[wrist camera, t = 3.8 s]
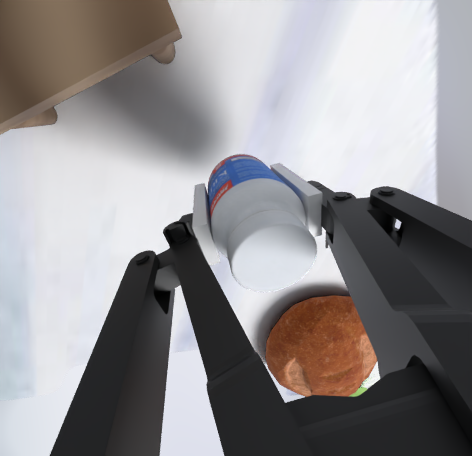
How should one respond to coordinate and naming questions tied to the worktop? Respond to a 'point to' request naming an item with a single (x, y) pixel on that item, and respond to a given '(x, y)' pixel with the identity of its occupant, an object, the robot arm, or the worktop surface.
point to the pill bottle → (259, 225)
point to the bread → (320, 348)
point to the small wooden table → (73, 50)
